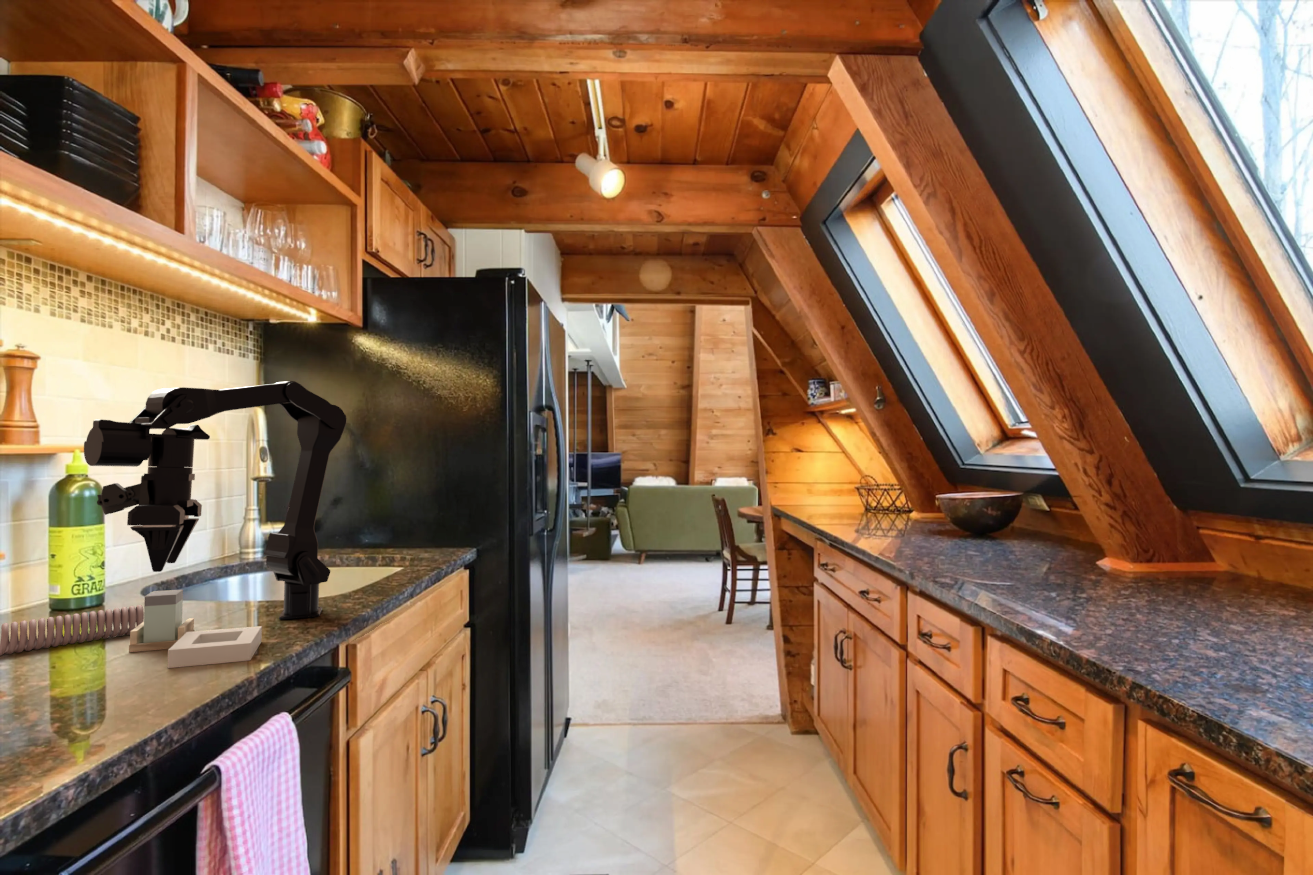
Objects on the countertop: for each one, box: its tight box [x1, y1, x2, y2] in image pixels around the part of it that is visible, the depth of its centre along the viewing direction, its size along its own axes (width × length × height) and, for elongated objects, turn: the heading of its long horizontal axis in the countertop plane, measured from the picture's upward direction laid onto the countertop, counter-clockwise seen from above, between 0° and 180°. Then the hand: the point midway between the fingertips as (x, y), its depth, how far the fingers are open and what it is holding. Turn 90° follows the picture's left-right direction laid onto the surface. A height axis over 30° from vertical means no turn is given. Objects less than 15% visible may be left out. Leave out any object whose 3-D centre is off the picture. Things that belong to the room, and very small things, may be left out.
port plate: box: [167, 625, 263, 669], centre depth 100 cm, size 10×10×2 cm
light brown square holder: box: [128, 617, 195, 653], centre depth 104 cm, size 7×7×3 cm
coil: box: [0, 604, 144, 657], centre depth 105 cm, size 5×5×18 cm
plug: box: [143, 589, 184, 643], centre depth 104 cm, size 4×4×8 cm
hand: (164, 567), depth 104 cm, fingers open, 9 cm apart
